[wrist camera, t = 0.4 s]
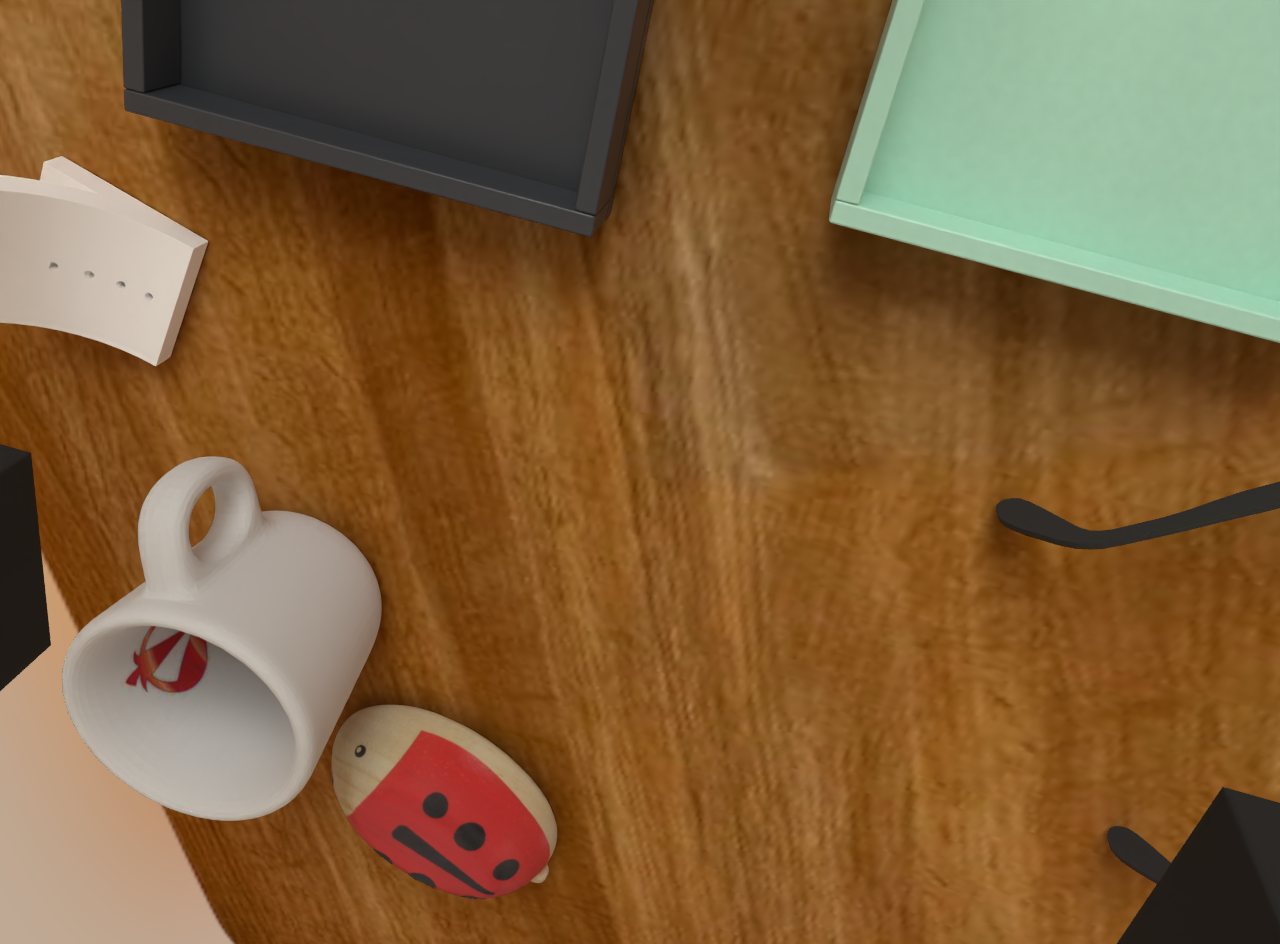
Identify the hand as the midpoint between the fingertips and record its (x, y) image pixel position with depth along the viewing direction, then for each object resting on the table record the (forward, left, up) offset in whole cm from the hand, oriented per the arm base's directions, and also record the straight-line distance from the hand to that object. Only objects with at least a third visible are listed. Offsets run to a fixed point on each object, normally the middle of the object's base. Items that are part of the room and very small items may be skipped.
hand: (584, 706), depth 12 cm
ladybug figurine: (+24, -5, -20) cm, 32 cm away
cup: (+15, -12, -20) cm, 28 cm away
